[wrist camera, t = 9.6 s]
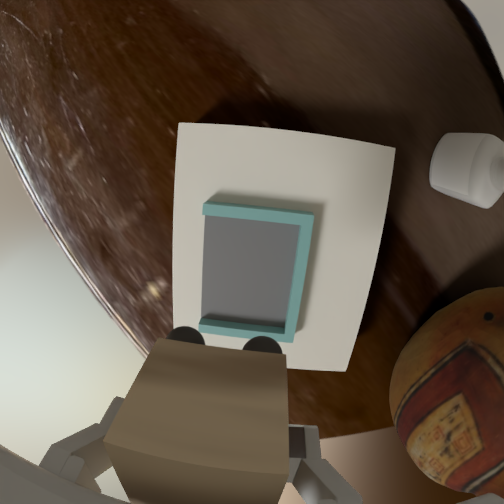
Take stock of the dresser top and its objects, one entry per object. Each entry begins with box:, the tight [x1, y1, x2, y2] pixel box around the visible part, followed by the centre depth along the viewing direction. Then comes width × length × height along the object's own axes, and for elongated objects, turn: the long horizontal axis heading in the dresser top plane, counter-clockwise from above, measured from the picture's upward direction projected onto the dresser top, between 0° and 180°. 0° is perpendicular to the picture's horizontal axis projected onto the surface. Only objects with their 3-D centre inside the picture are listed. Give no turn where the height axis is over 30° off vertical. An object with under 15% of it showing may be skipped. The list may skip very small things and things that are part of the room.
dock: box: [173, 123, 395, 371], centre depth 26 cm, size 20×16×5 cm
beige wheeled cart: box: [103, 326, 289, 504], centre depth 10 cm, size 6×5×7 cm
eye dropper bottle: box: [429, 133, 504, 208], centre depth 19 cm, size 4×6×12 cm
